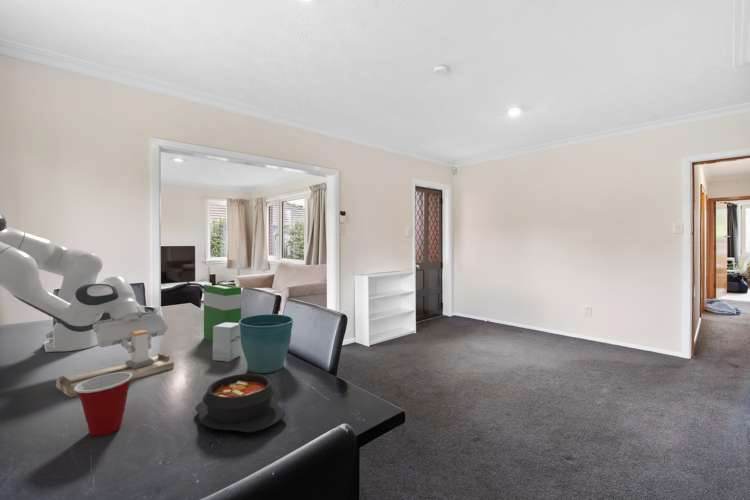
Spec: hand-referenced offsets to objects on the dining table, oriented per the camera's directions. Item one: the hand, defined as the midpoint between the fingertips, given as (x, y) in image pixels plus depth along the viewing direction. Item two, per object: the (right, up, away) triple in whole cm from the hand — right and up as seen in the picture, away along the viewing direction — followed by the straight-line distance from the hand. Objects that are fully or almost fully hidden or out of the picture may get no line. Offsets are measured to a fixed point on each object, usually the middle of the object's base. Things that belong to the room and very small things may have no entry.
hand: (140, 349), depth 117 cm
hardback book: (+11, -7, +38) cm, 40 cm away
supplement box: (+22, -8, +15) cm, 28 cm away
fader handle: (-1, -5, 0) cm, 5 cm away
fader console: (-4, -7, -4) cm, 10 cm away
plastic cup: (+15, -9, -35) cm, 39 cm away
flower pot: (+40, -8, +6) cm, 41 cm away
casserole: (+44, -9, -28) cm, 53 cm away
